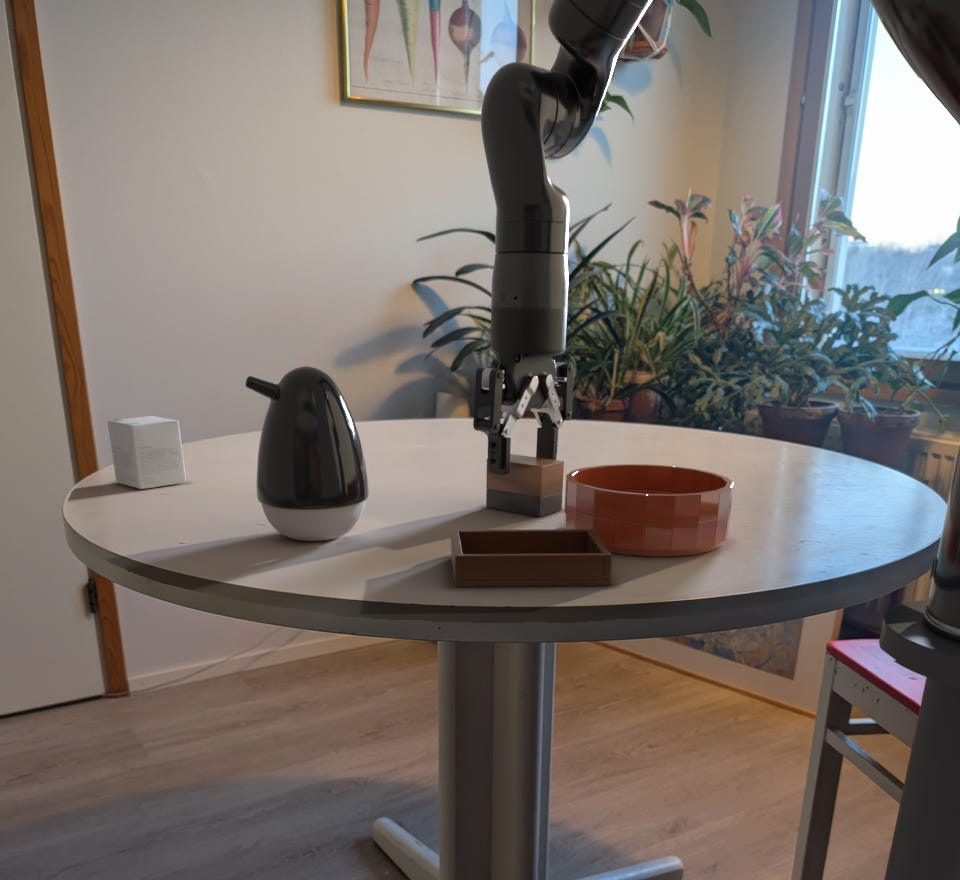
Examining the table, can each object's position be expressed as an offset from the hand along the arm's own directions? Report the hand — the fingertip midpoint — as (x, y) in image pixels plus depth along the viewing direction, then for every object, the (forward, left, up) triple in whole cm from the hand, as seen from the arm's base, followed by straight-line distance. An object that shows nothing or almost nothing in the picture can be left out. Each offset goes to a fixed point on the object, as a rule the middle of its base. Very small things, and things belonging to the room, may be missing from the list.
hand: (523, 468), depth 94 cm
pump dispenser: (+8, +22, -5) cm, 24 cm away
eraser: (0, 0, -4) cm, 4 cm away
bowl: (-16, +2, -4) cm, 16 cm away
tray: (-14, +19, -4) cm, 24 cm away
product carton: (+41, +18, -5) cm, 45 cm away
